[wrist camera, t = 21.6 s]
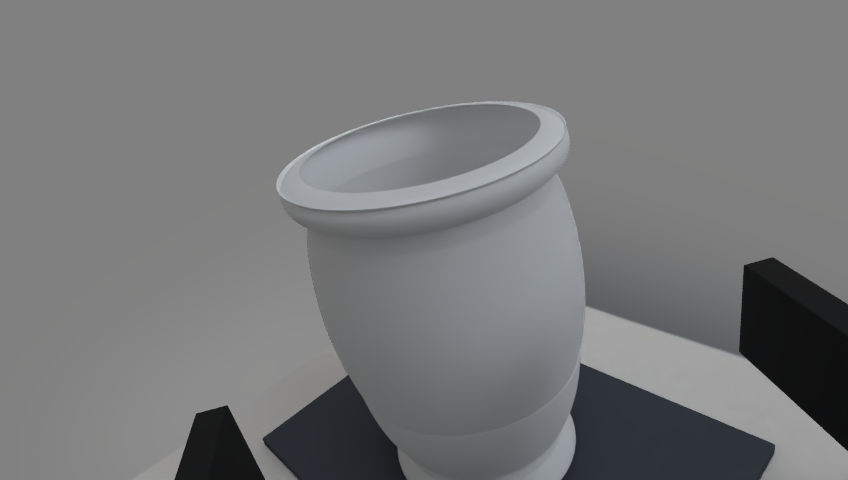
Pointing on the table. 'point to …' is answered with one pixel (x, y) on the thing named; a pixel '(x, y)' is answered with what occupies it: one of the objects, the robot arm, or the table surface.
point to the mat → (594, 426)
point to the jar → (451, 283)
